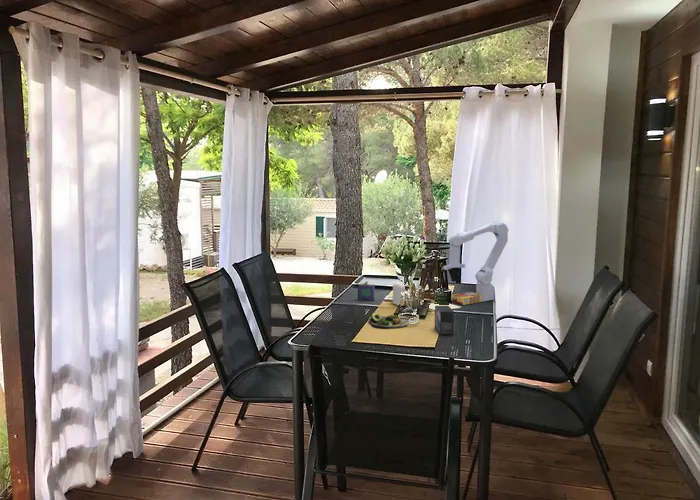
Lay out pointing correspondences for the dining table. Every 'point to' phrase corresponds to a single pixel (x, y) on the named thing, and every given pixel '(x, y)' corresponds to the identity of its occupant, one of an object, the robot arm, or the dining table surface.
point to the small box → (444, 320)
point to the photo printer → (397, 292)
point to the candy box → (466, 298)
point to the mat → (432, 305)
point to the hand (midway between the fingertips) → (453, 281)
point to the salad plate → (387, 321)
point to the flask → (366, 292)
